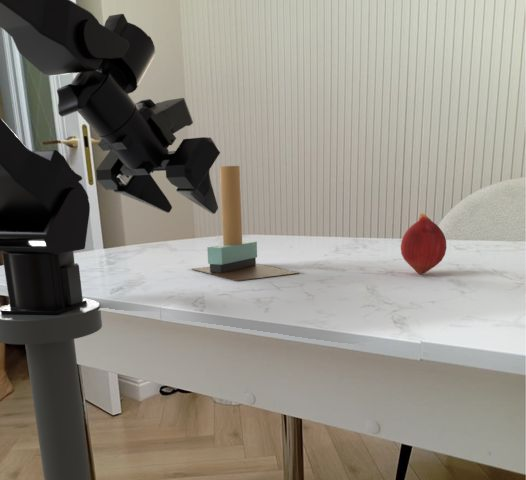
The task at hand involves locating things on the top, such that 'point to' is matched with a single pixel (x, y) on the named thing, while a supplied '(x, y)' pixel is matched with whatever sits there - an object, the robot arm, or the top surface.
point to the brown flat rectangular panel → (249, 272)
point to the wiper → (231, 228)
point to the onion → (423, 245)
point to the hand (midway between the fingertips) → (192, 210)
